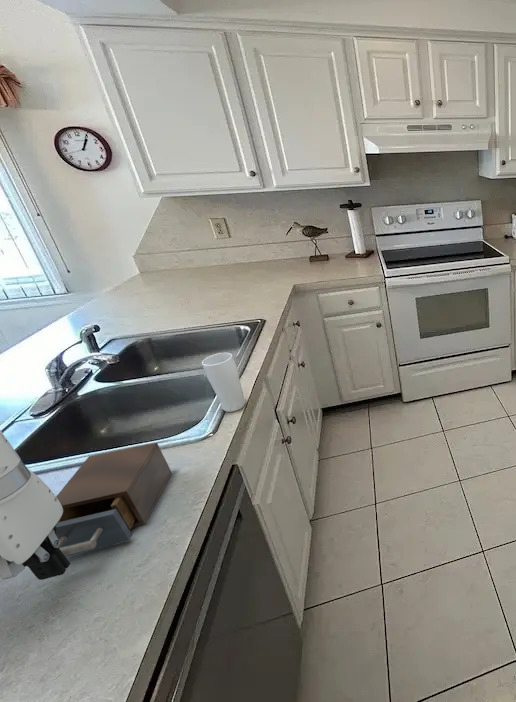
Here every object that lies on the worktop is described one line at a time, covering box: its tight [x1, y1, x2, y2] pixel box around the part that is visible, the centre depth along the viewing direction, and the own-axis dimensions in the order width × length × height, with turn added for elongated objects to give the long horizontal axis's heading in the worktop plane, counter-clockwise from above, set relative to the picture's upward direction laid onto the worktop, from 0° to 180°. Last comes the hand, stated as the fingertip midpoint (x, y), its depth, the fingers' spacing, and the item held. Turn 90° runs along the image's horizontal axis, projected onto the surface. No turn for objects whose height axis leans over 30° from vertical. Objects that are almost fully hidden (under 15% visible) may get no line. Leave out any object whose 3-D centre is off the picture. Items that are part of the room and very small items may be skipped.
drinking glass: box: [201, 352, 246, 413], centre depth 107 cm, size 7×7×15 cm
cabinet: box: [55, 442, 173, 529], centre depth 80 cm, size 14×12×9 cm
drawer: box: [56, 495, 136, 558], centre depth 74 cm, size 16×10×7 cm, turn 18°
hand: (55, 572), depth 63 cm, fingers closed
